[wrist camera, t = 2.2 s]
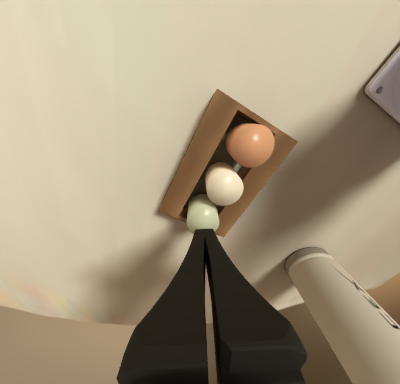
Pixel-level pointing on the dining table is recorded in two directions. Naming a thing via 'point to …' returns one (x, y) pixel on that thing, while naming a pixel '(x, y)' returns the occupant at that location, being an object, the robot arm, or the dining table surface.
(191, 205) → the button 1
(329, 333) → the travel mug
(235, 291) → the robot arm
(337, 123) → the dining table surface
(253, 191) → the panel
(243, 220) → the dining table surface
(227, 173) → the button mid
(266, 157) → the button
